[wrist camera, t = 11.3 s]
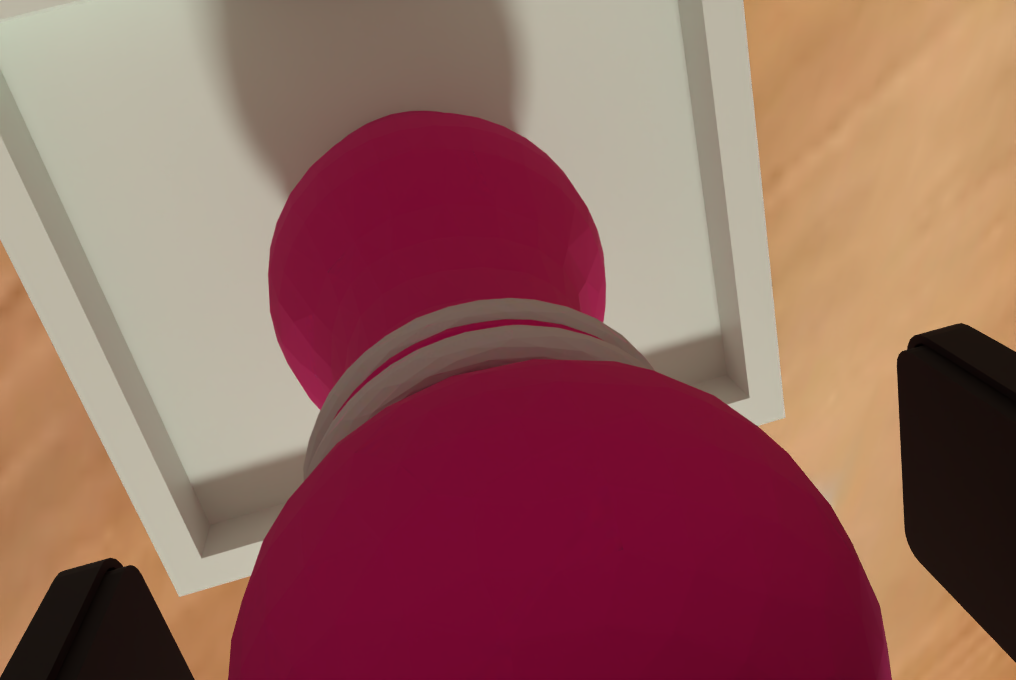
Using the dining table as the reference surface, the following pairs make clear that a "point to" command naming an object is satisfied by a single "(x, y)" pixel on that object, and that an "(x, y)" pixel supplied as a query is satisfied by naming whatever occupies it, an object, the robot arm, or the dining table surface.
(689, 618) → the pepper mill
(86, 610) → the robot arm
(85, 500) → the dining table surface
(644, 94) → the tray
